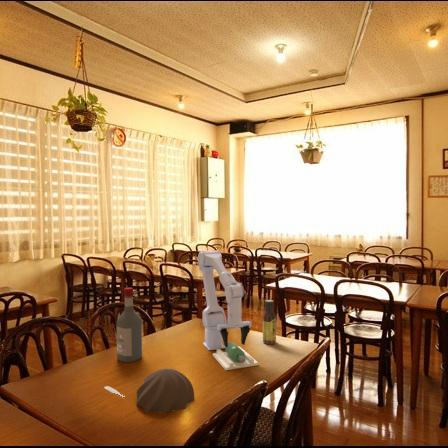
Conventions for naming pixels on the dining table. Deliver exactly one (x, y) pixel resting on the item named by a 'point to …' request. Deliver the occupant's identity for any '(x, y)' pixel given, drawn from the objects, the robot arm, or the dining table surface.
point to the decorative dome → (165, 391)
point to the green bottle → (235, 352)
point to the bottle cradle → (229, 363)
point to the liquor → (129, 331)
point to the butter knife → (113, 390)
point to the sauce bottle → (269, 323)
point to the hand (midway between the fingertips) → (234, 345)
